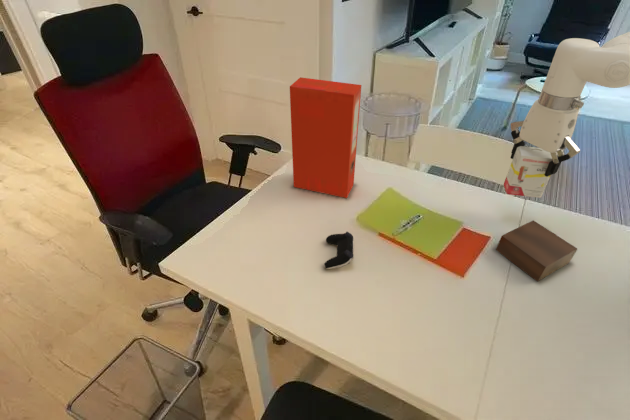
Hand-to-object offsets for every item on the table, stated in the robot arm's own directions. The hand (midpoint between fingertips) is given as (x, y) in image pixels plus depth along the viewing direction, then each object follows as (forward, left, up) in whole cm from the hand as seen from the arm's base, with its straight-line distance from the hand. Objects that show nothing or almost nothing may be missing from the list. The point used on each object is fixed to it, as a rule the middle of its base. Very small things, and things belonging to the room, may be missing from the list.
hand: (531, 165), depth 93 cm
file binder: (+37, -39, -18) cm, 57 cm away
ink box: (0, 0, -8) cm, 8 cm away
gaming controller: (+49, -11, -18) cm, 54 cm away
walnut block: (+7, +13, -18) cm, 23 cm away
